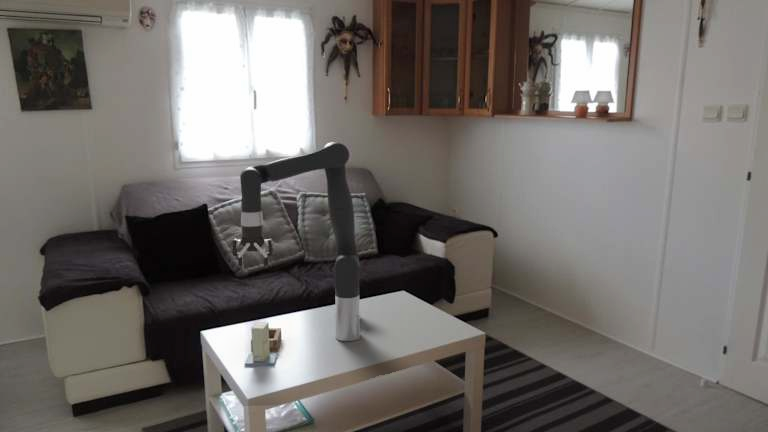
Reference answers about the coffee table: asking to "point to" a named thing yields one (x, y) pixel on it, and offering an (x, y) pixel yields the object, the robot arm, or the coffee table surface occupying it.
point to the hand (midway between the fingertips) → (253, 267)
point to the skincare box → (260, 341)
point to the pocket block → (273, 339)
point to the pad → (268, 362)
